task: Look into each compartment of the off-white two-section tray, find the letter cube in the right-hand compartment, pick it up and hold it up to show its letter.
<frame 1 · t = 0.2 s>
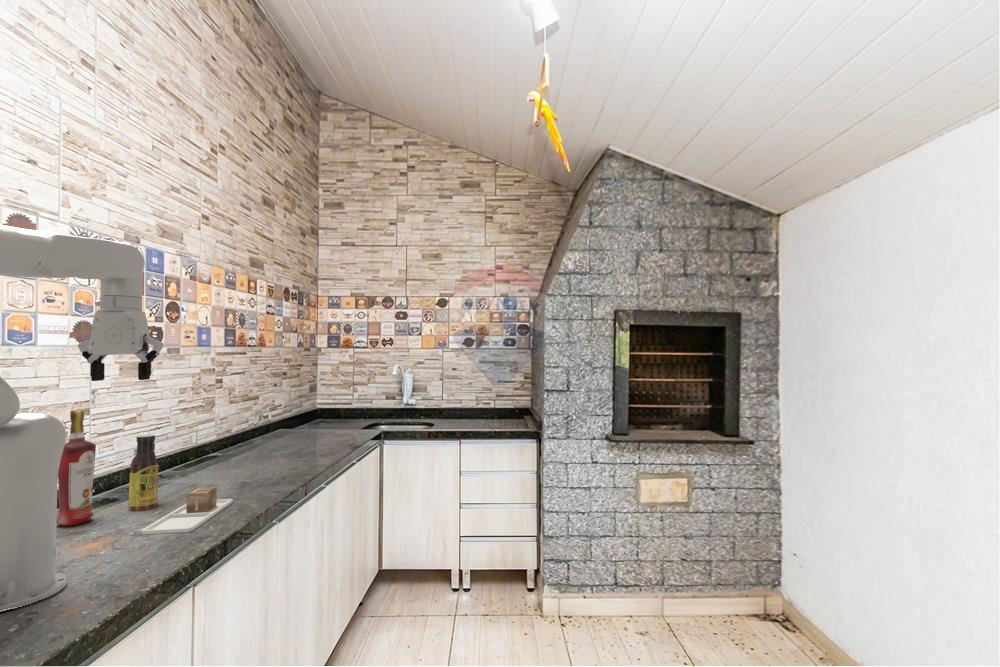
hand: (121, 380, 107), 36 cm above the counter, tool pointing down, fingers open, 9 cm apart
sauce bottle: (143, 510, 127), on the counter
liquor: (75, 523, 117), on the counter
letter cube: (201, 509, 124), point 1 cm above the counter, touching tray
tray: (190, 519, 119), on the counter
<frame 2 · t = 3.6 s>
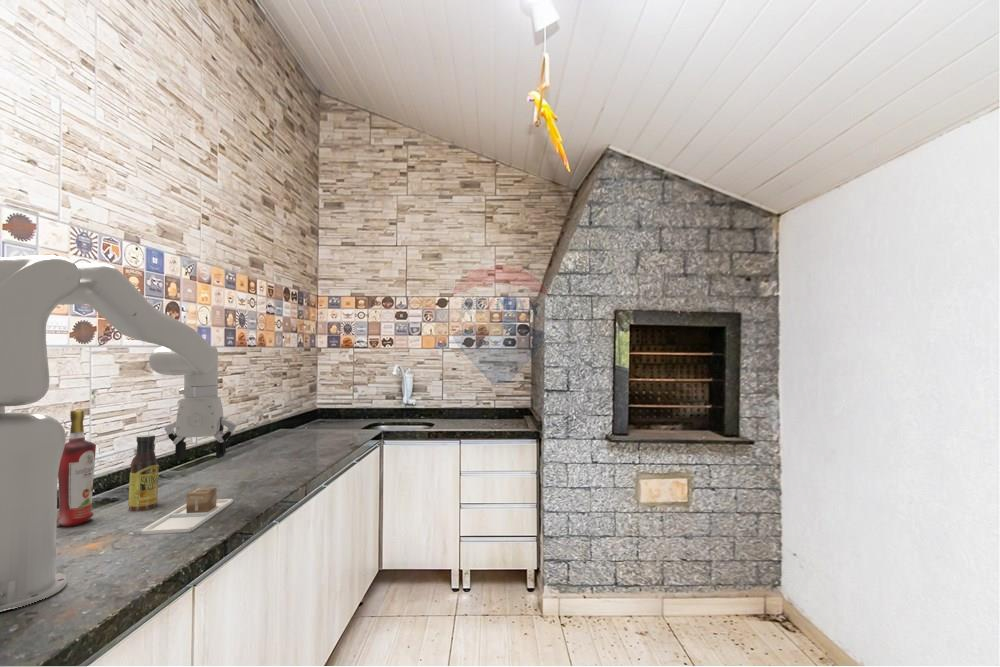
hand: (200, 457, 124), 14 cm above the counter, tool pointing down, fingers open, 9 cm apart
nothing on the counter moved.
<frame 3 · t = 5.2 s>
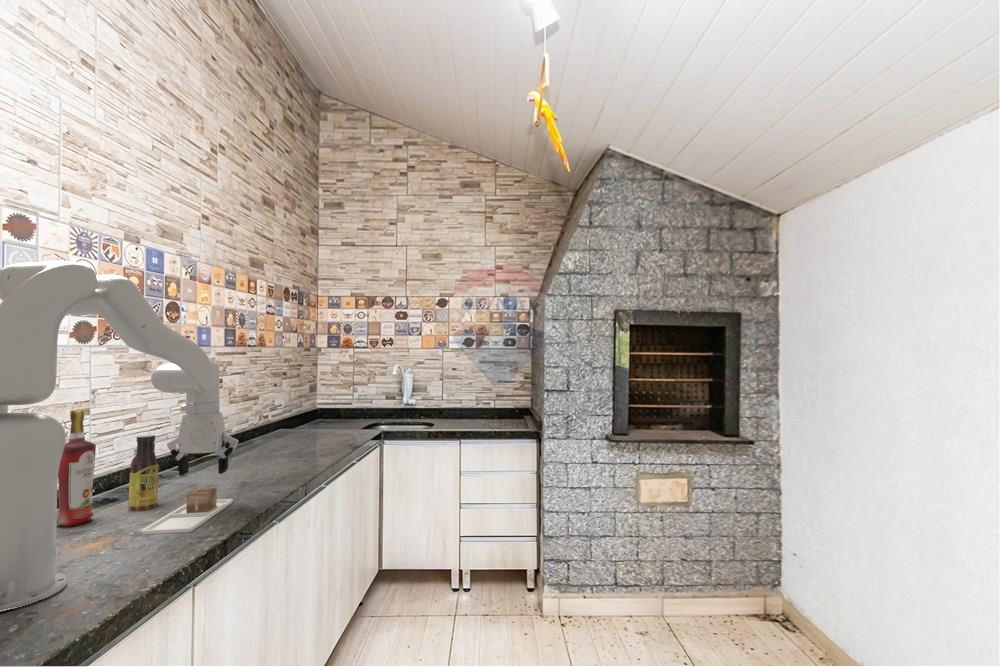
hand: (203, 473, 125), 10 cm above the counter, tool pointing down, fingers open, 9 cm apart
nothing on the counter moved.
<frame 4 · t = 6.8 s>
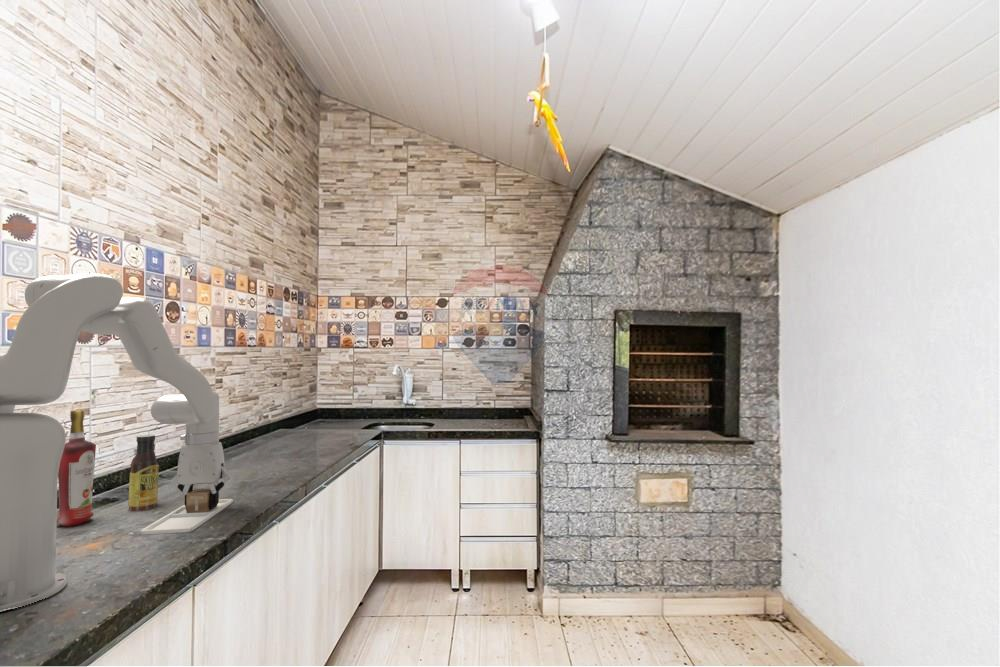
hand: (201, 507, 124), 1 cm above the counter, tool pointing down, fingers closed on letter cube, 4 cm apart
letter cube: (201, 509, 124), point 1 cm above the counter, touching gripper, tray
everything else where it was.
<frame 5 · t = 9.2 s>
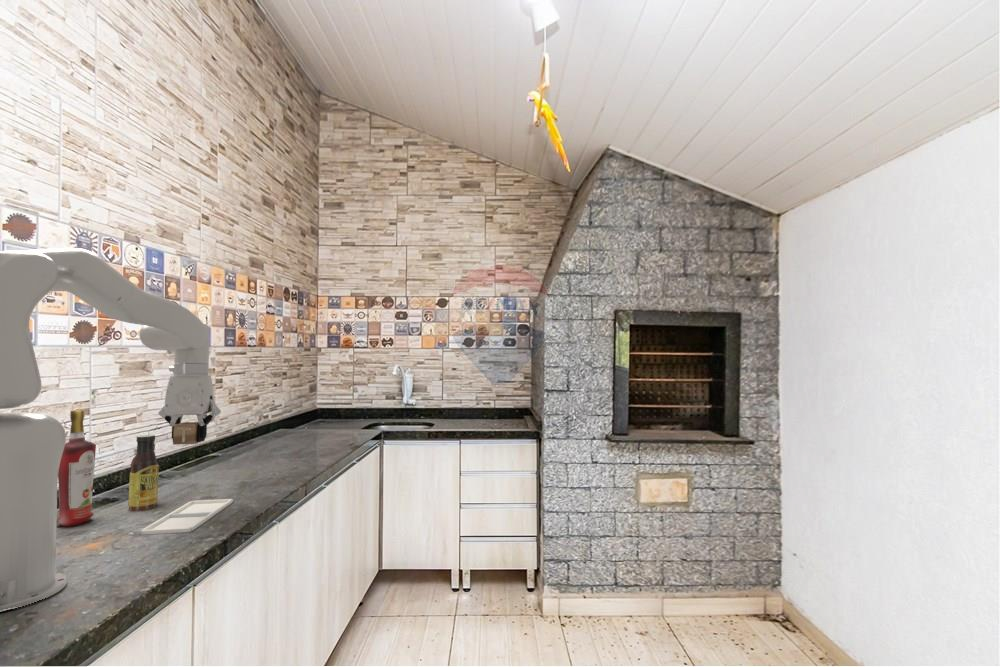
hand: (189, 440, 121), 20 cm above the counter, tool pointing down, fingers closed on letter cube, 4 cm apart
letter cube: (189, 442, 121), point 19 cm above the counter, touching gripper
everything else where it was.
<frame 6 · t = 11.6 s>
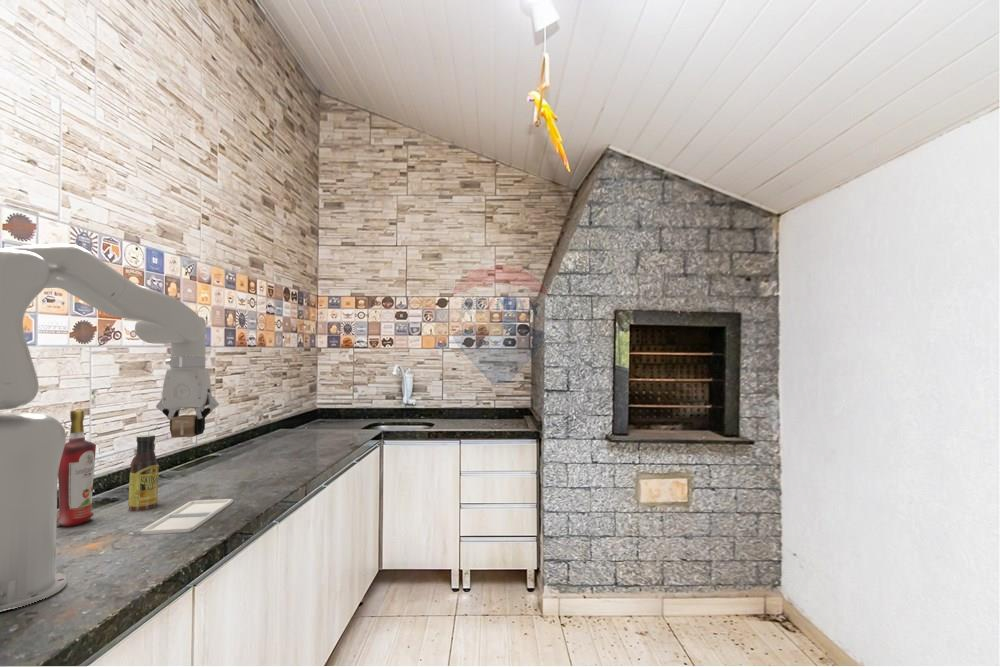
hand: (187, 433, 121), 21 cm above the counter, tool pointing down, fingers closed on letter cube, 4 cm apart
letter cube: (187, 435, 121), point 21 cm above the counter, touching gripper
everything else where it was.
at the end: the gripper is holding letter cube; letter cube point 20.8 cm above the counter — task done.
